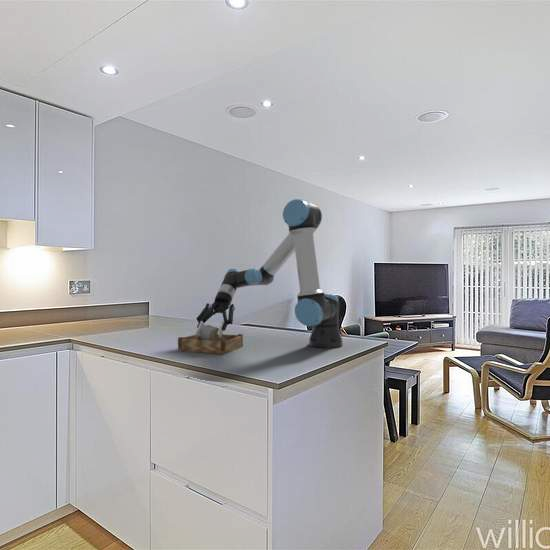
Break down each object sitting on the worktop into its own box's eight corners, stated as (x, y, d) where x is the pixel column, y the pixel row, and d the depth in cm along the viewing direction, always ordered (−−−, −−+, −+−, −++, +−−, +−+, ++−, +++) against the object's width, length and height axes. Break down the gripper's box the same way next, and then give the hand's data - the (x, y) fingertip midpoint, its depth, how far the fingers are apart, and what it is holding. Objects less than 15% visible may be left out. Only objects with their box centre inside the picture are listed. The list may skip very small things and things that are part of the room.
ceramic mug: (210, 345, 167) (210, 327, 167) (199, 343, 173) (199, 325, 173) (230, 342, 174) (230, 325, 174) (219, 340, 180) (219, 323, 180)
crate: (243, 346, 177) (243, 334, 177) (224, 354, 160) (224, 340, 160) (200, 343, 185) (200, 331, 185) (178, 350, 168) (178, 337, 168)
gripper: (249, 302, 183) (234, 341, 168) (206, 301, 191) (188, 339, 176) (244, 291, 178) (228, 331, 163) (200, 290, 186) (182, 328, 171)
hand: (208, 335), depth 170 cm, fingers closed on ceramic mug, 10 cm apart
